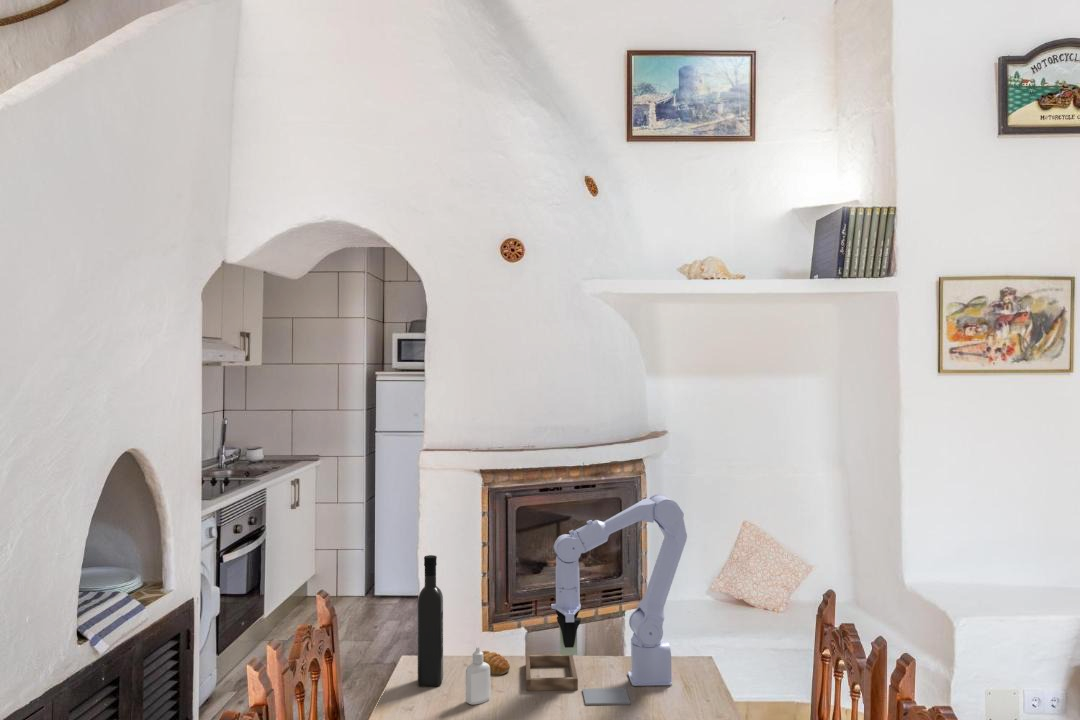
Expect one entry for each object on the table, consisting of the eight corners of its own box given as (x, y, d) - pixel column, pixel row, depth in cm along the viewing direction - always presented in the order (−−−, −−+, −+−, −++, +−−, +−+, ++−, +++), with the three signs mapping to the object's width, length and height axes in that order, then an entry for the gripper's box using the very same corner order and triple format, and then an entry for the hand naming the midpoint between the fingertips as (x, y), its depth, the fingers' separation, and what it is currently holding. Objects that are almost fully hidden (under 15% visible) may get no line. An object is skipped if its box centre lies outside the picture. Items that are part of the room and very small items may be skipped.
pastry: (516, 671, 183) (516, 655, 183) (497, 679, 178) (497, 663, 178) (490, 661, 189) (490, 647, 189) (471, 669, 184) (471, 654, 184)
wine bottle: (443, 677, 178) (443, 553, 179) (441, 687, 173) (440, 558, 174) (420, 678, 178) (420, 553, 179) (416, 687, 172) (416, 559, 174)
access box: (572, 664, 186) (572, 654, 186) (577, 689, 170) (577, 678, 171) (525, 664, 186) (525, 655, 186) (526, 690, 170) (526, 679, 170)
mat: (625, 689, 170) (625, 687, 170) (630, 704, 162) (630, 702, 162) (582, 690, 170) (582, 688, 170) (585, 705, 162) (585, 703, 162)
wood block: (576, 648, 177) (575, 623, 177) (577, 654, 173) (576, 629, 173) (559, 649, 176) (559, 624, 177) (560, 655, 172) (560, 629, 173)
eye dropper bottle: (491, 704, 163) (490, 649, 163) (465, 705, 162) (465, 651, 163) (489, 696, 167) (489, 643, 168) (465, 697, 166) (465, 644, 167)
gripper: (549, 578, 182) (550, 633, 182) (552, 594, 168) (553, 654, 167) (578, 578, 182) (578, 633, 182) (582, 594, 168) (583, 654, 167)
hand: (568, 643), depth 175 cm, fingers closed on wood block, 4 cm apart
